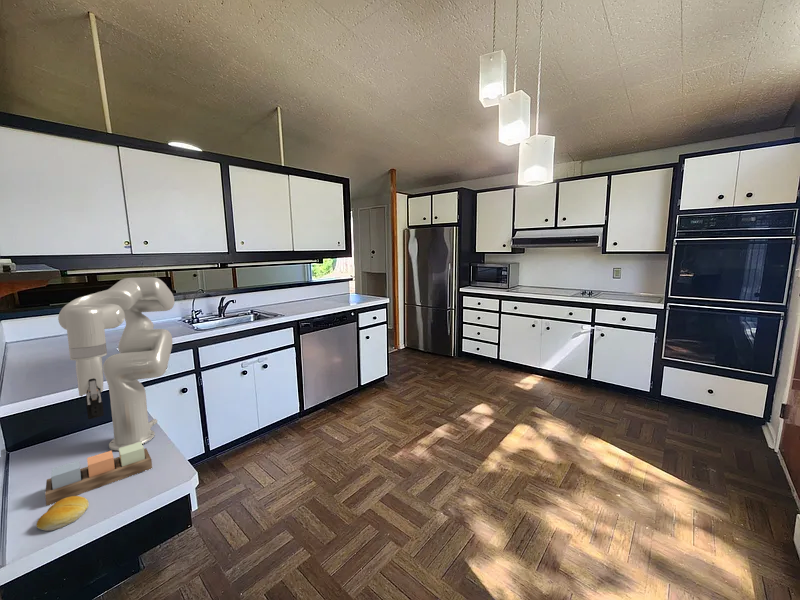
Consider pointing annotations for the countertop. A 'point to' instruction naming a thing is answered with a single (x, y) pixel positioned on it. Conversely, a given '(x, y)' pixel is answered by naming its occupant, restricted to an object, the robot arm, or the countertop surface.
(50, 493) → the wooden tray
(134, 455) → the sage button
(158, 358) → the robot arm
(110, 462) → the orange block
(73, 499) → the bread roll
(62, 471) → the slate button
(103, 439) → the countertop surface
